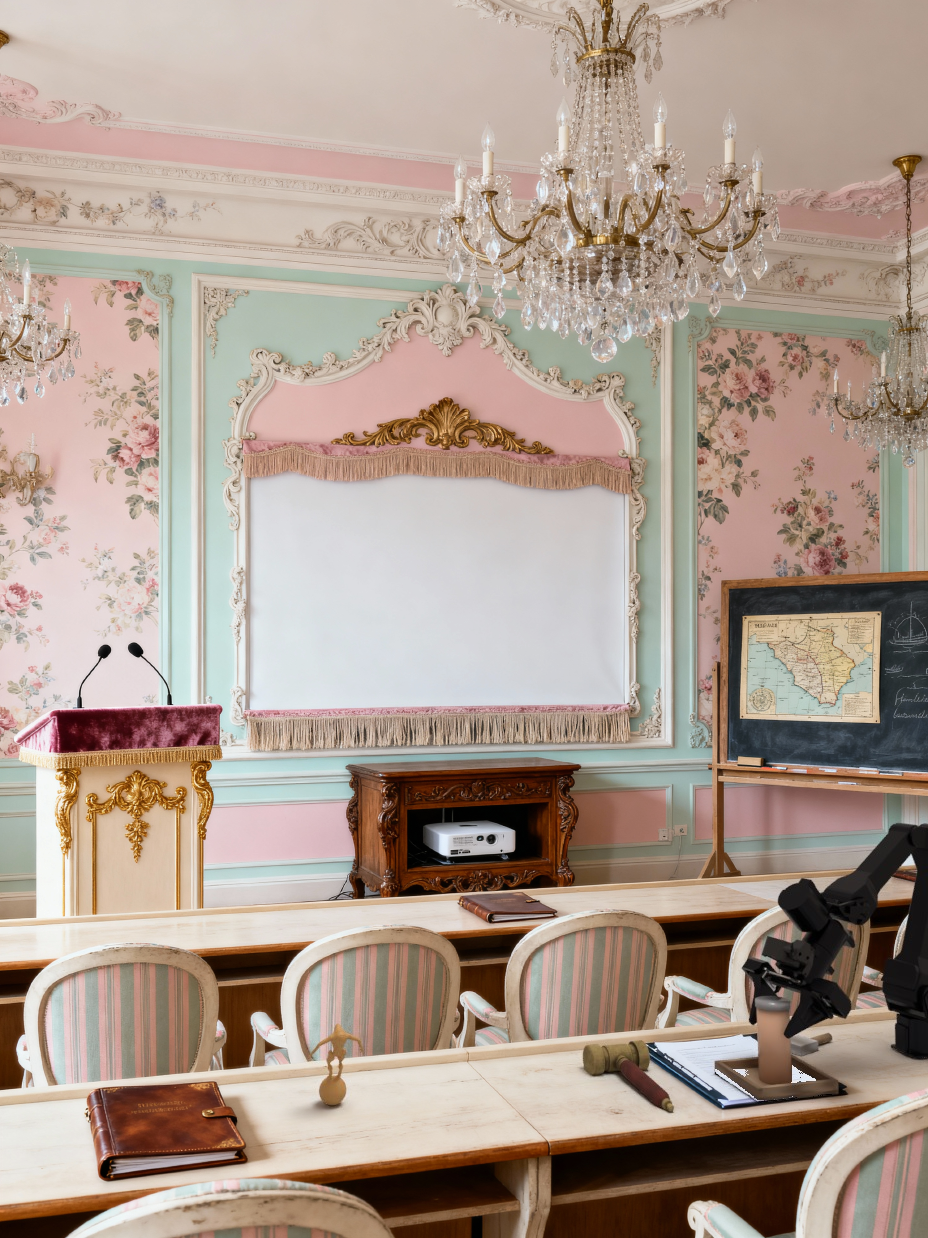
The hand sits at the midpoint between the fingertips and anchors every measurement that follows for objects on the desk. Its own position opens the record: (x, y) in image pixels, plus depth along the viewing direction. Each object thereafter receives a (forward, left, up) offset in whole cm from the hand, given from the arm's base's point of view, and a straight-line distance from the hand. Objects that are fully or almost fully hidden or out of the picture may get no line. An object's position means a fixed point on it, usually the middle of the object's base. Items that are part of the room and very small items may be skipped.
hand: (767, 1030), depth 164 cm
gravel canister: (-1, 0, -8) cm, 8 cm away
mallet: (-17, -14, -8) cm, 24 cm away
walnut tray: (-1, 0, -8) cm, 8 cm away
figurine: (+67, -8, -9) cm, 68 cm away
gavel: (+20, -4, -9) cm, 22 cm away
